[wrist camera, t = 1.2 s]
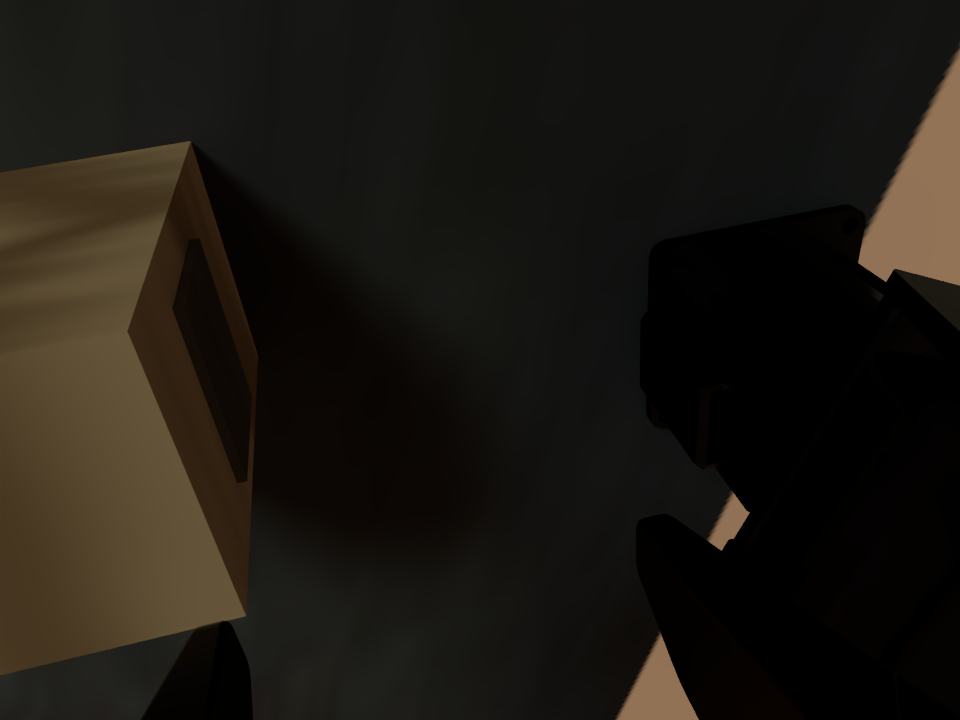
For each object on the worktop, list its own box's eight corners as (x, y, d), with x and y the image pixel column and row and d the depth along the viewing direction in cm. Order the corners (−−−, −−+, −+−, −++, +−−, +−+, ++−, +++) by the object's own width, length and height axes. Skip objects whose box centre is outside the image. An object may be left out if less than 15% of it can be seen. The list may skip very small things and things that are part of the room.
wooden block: (199, 139, 18) (142, 328, 11) (265, 354, 21) (257, 613, 14) (-36, 178, 17) (-274, 408, 10) (70, 393, 21) (-50, 687, 13)
